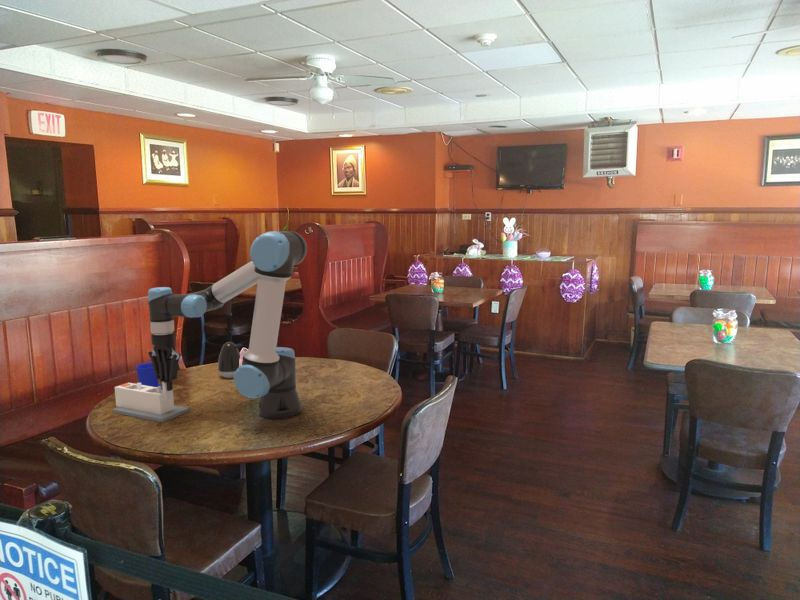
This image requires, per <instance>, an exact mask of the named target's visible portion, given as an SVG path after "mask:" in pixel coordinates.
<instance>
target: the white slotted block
mask: <svg viewBox="0 0 800 600" xmlns="http://www.w3.org/2000/svg"><path fill="white" fill-rule="evenodd" d="M141 386H142V389H141V390H139V389H137V385H136V383H135V382H134V383H132V382H126V383H123V384H120V385H116V386H114V398H115V406H116V407H124V408H130V409H135V410H140V411H145V412H150V413H155V414H160V415H161V414H163V413H166V412H168V411H171V410H173V409H174V405H175V401H174V398H175V397H174V390H173V389H172V399H169V400H167V401H166V400H163V390H162V393H157V387H152V386H146V385H141Z"/></svg>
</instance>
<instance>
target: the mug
mask: <svg viewBox="0 0 800 600" xmlns="http://www.w3.org/2000/svg"><path fill="white" fill-rule="evenodd" d="M135 369H136V375H137V381H138V382H137V383H141V385H146V386H152V387H158V386H161V383H160V384H159V379H156V376H155V373H154V369H153V365H152V362H145V363H140V364H137V365H136V366H135Z"/></svg>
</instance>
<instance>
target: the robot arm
mask: <svg viewBox="0 0 800 600" xmlns="http://www.w3.org/2000/svg"><path fill="white" fill-rule="evenodd" d="M307 246H308V245H307V242H306V239H304V237H303V236H302V235H301V234H300V233H298V232H296V231H293V230H284V231H283V230H278V231H273V230H272V231H267V232H264V233H262V234H260V235H259V236H257V237H256V238H255V239H254V240H253V242H252V244H251V245H250V250H249V252H250V253H249V255H250V260H251V261H249V262H247V263H246V264H244V265H243V266H241V267H239V268H238V269H236V270H235V271H233V272H231V273H230V274H227V276H224V277H223V278H221V279H220V280H218V281H216V282H215V283H213V284H212V285H210V286H209V287H207V288H205V289H203V290H199V291H195V292H190V293H185V294H183V293H182V294H181V293H180V294H175V293H173V291H172V290H173V289H172V288H171V287H168V286H161V287H159V286H158V287H152V288H149V290H148V291H147V292H148V293H147V297H148V298H147V299H148V300H147V305H148V311H149V326H150V333H151V334H150V338H151V339H150V340H151V345H153V347H152V348H153V349H152V350H150V351H148V353H147V354H148V356H149V358H150V360H151V363H152V365H153V369H154V373H155V376H156V379H158V381H159V382H160V385H161V388H162V390H163V400H166V401H167V400H169V399H172V390H173V388H174V387H173V381H175V380H177V379H178V371H179V362H180V359H181V357H182V354H181V353H179V352H177V351H176V348H175V347H174V345H175V343H176V333H175V320H174V319H175V318H174V317H179V318H191V319H192V318H201V317H203V315H204V314H205V313H207V312H210V311H215V310H218V309H220V308H222V307H223V306H224V305H225V303H226V302H228V301H230V300H231V299H233V298H235V297H237V296H239V295H240V294H242V293H243V292H245V291H247V290H248V289H250V288H251V287H252V288H253V286H255V285H256V294H255V301H254V309H253V317H252V322H251V323H252V324H251V329H250V330H251V331H250V338H249V346H248V348H247V350H245V351H243V353H242V366H240V367H239V368H238V369H237V370H236V372H235V374H234V378H233V383H234V385H235V388H236V389H237V390H238V391H239V394H240V395H242V396H243V397H245V398H248V399H252V400H253V399H259V398H260V400H259V403H258V406H257V410H258V411H257V413H258V415H259V416H260V417H262V418H264V419H265V418H266V419H273V420H274V419H276V420H277V419H286V418H291V417H294V416H296V415H299V414H300V413H301V412H302V410H303V406H302V405H303V404H302V402H301V399H300V396H299V393H298V390H297V381H296V380H297V377H296V375H297V374H296V356H295V350H294V349H293V348H290V347H286V346H285V347H282V346H278V337H279V331H280V325H281V318H282V311H283V304H284V298H285V290H286V284H287V282H288V281H289V280H290V279H291V278H292V277H293V276H292V275H293V271H294V267H295V266H298V265H299V264H300V263H302V262H303V261H304V259H305V258H306V256H307V253H308V247H307Z"/></svg>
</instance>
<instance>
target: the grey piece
mask: <svg viewBox="0 0 800 600" xmlns="http://www.w3.org/2000/svg"><path fill="white" fill-rule="evenodd" d="M135 384H136V385H137V389H139V390H141V389H142V386H141V383H139V382H137V383H135ZM157 393H162V388H161V386H158V387H157ZM189 412H190V408H189V407H185V406H180V405H175V404H174V409H173V410H171V411H168V412H166V413H163V414H161V415H160V414H155V413H150V412H145V411H140V410H135V409H130V408H124V407H119V406H117V407H115V408H112V413H113V414H118V415H123V416H128V417H133V418H139V419H143V420H148V421H153V422H157V423H164V422H167V421H169V420H171V419H174V418H176V417H179V416H181V415H183V414H186V413H189Z"/></svg>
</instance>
